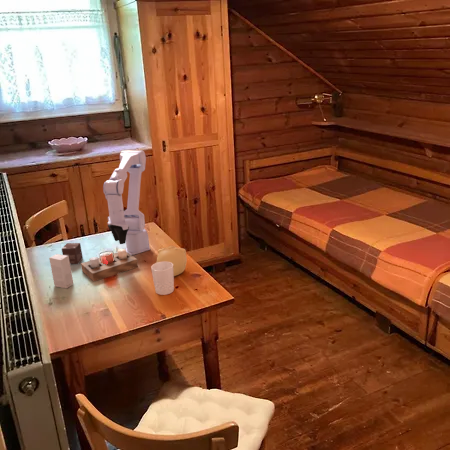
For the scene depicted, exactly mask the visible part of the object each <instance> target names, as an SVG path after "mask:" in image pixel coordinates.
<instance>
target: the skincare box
mask: <svg viewBox="0 0 450 450" xmlns="http://www.w3.org/2000/svg"><path fill="white" fill-rule="evenodd" d="M49 263H50V269H51V270H50V271H51V274H52V278H53V279H52V280H53V285H54V287H56V288H57V287H58V288H62V289H68V288H70V287H72V286H73V285H74V278H73V273H72V268H71V264H70V262H69V256H67V255H63V254H59V253H56V254H54V255H52V256H50V257H49Z"/></svg>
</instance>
